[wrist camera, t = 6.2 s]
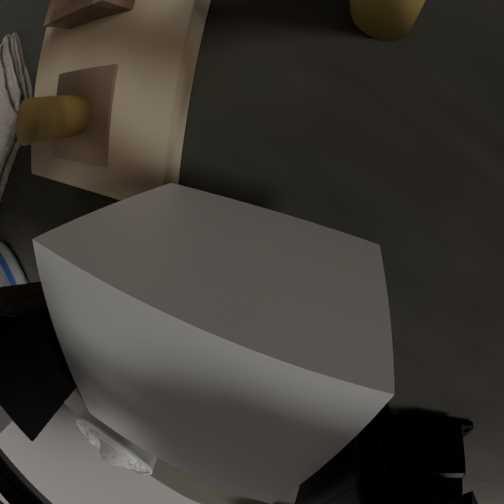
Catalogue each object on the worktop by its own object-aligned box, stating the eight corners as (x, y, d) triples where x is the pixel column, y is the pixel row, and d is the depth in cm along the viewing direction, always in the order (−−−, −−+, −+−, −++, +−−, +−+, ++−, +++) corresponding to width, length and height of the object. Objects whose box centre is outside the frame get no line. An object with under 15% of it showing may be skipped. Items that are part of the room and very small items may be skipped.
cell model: (85, 389, 29) (53, 421, 23) (128, 389, 23) (86, 437, 17) (135, 441, 30) (109, 474, 25) (191, 452, 25) (162, 498, 19)
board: (176, 205, 13) (103, 242, 9) (44, 169, 16) (-10, 187, 12) (238, -84, 6) (192, -131, 2) (81, -35, 8) (31, -45, 4)
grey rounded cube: (310, 391, 10) (271, 504, 6) (165, 332, 11) (90, 413, 7) (379, 244, 7) (394, 394, 3) (170, 182, 9) (32, 239, 4)
